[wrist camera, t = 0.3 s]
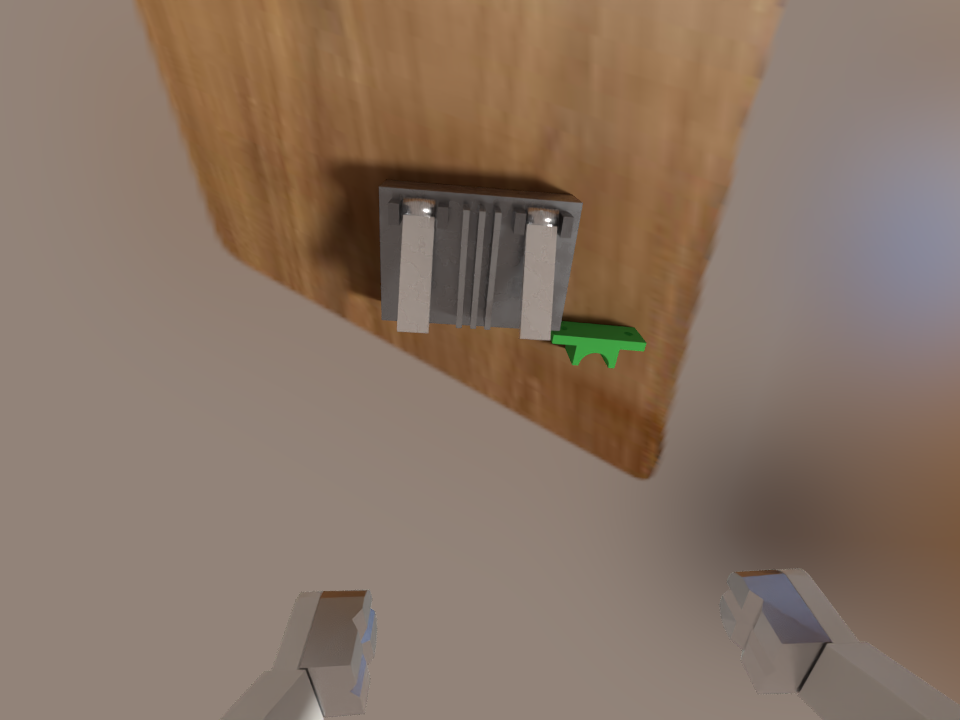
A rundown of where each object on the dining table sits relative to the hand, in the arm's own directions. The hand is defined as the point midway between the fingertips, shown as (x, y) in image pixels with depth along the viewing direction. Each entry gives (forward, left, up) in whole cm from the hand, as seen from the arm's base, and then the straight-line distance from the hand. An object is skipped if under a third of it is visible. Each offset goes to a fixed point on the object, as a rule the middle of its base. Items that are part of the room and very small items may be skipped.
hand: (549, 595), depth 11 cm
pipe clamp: (+14, +15, -46) cm, 50 cm away
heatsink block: (+5, 0, -46) cm, 46 cm away
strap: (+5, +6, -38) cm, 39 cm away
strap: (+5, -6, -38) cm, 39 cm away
